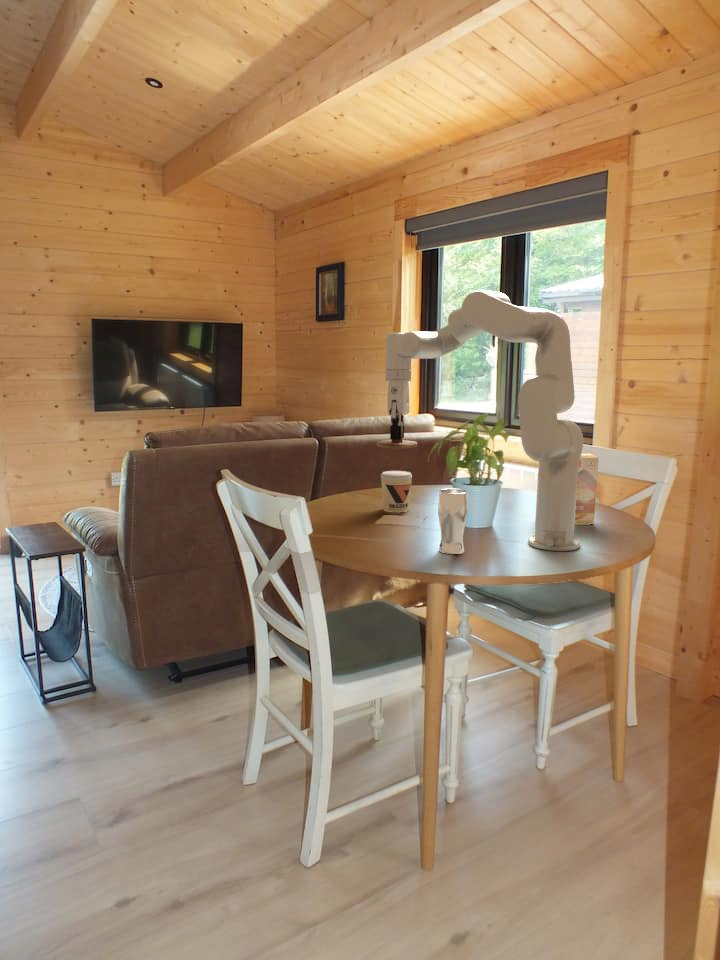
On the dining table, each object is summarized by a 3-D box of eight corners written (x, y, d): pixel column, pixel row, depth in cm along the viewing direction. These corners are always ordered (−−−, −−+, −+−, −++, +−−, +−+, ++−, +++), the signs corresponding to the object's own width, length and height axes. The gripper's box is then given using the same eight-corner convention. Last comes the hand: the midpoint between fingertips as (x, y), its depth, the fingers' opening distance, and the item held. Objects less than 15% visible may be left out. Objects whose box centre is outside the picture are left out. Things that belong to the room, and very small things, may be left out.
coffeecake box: (541, 525, 199) (545, 456, 195) (535, 519, 206) (538, 452, 202) (594, 525, 199) (599, 456, 196) (586, 519, 206) (590, 453, 203)
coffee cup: (385, 516, 209) (385, 476, 206) (376, 509, 217) (377, 471, 215) (415, 515, 211) (416, 475, 209) (406, 508, 220) (406, 470, 217)
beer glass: (470, 554, 170) (472, 493, 167) (443, 556, 168) (445, 494, 165) (458, 546, 177) (460, 487, 174) (432, 548, 175) (434, 489, 172)
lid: (413, 449, 203) (413, 424, 201) (372, 447, 206) (372, 423, 204) (420, 443, 214) (420, 420, 213) (381, 442, 217) (381, 419, 216)
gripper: (405, 377, 197) (404, 442, 201) (415, 375, 213) (414, 436, 216) (379, 376, 199) (378, 441, 203) (391, 374, 215) (390, 435, 218)
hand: (397, 438), depth 209 cm, fingers closed on lid, 3 cm apart
